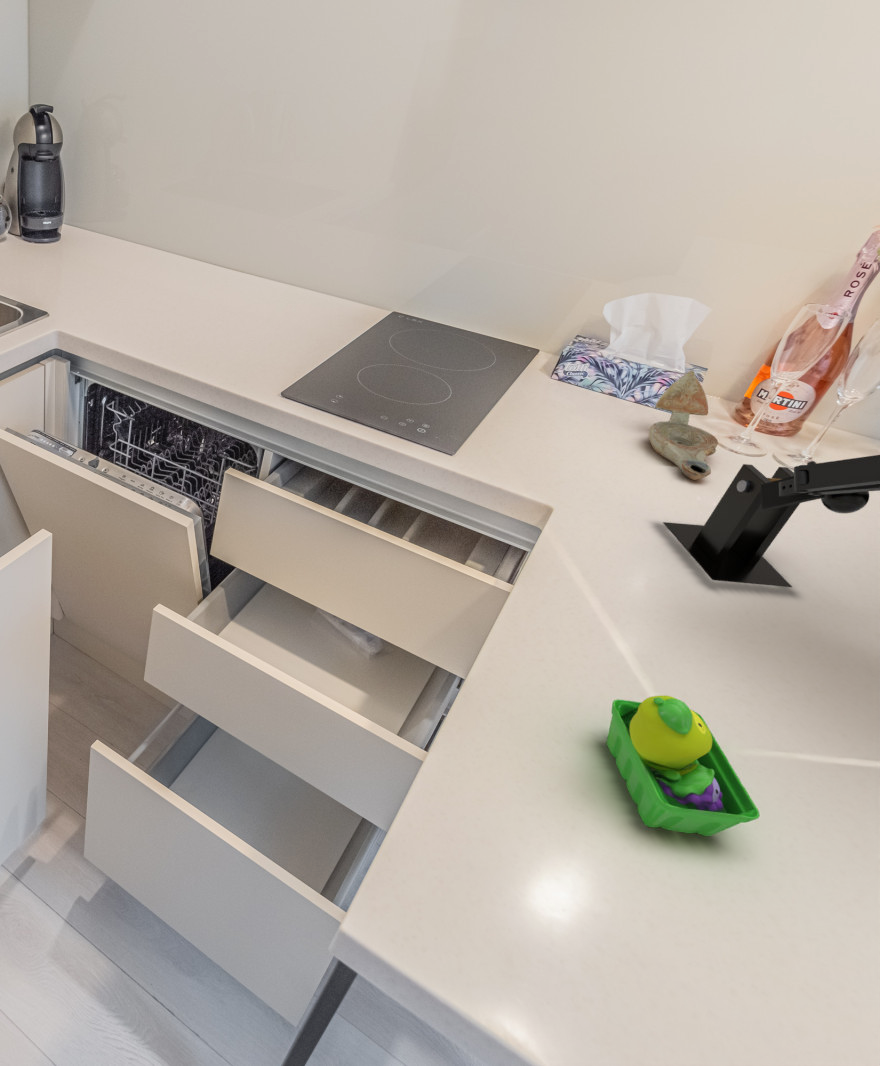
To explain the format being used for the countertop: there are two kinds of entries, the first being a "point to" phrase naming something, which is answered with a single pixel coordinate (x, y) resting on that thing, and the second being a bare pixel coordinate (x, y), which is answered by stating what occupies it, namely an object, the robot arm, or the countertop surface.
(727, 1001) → the countertop surface
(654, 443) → the oil lamp
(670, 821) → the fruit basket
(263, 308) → the countertop surface
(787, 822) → the countertop surface
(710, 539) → the switch bracket
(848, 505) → the switch lever
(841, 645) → the countertop surface
